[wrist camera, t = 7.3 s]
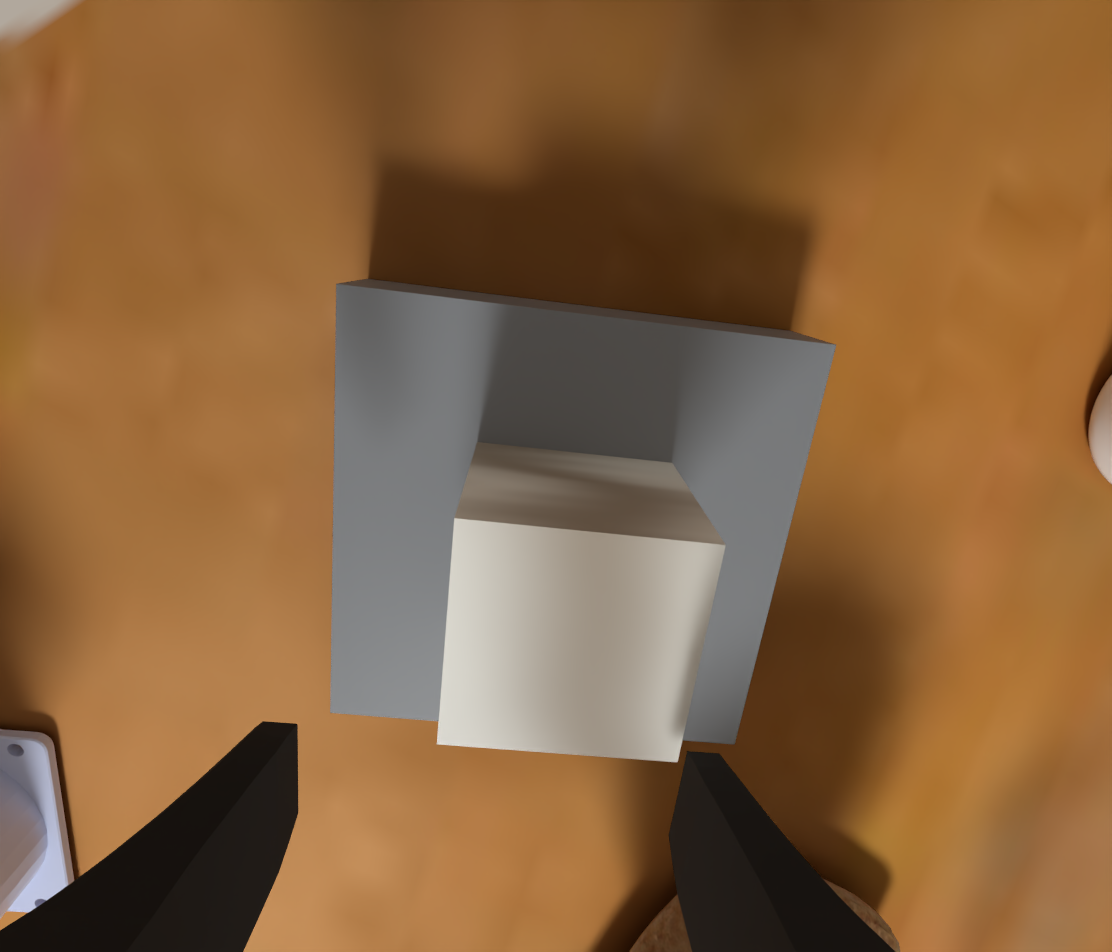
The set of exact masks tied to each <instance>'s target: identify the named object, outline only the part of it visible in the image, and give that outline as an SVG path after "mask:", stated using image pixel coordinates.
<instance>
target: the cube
mask: <svg viewBox="0 0 1112 952" xmlns="http://www.w3.org/2000/svg"><path fill="white" fill-rule="evenodd" d="M725 546H726V545H725V543H724V542H723V540H722V538H721V537H720V535H719V534H718V532H717V531H716V529H715V528H714V526H713V525H712V523H711V522H710V520H709V519H708V517H707V516H706V514H705V512H704V511H703V509H702V508H701V506H700V505H699V503H698V502H697V500H696V499H695V497H694V496H693V494H692V493H691V491H690V489H689V488H688V486H687V485H686V483H685V482H684V480H683V479H682V477H681V476H680V474H679V473H678V471H677V470H676V468H675V466H674V465H673V463H669V462H660V461H650V460H641V459H632V458H622V457H613V456H603V455H594V454H585V453H575V452H566V451H557V450H547V449H538V448H529V447H519V446H510V445H501V444H491V443H482V442H477V444H476V448H475V451H474V454H473V458H472V461H471V464H470V468H469V471H468V474H467V478H466V481H465V484H464V488H463V491H462V494H461V498H460V501H459V504H458V508H457V511H456V514H455V518H454V529H453V542H452V555H451V568H450V581H449V594H448V607H447V620H446V633H445V646H444V659H443V672H442V685H441V698H440V711H439V724H438V737H437V744H440V745H454V746H467V747H480V748H493V749H507V750H520V751H533V752H546V753H560V754H573V755H586V756H599V757H613V758H626V759H639V760H652V761H666V762H678V758H679V753H680V749H681V744H682V740H683V735H684V731H685V726H686V722H687V717H688V713H689V708H690V704H691V699H692V695H693V690H694V686H695V681H696V677H697V672H698V668H699V663H700V659H701V654H702V650H703V645H704V641H705V636H706V632H707V627H708V623H709V618H710V614H711V609H712V605H713V600H714V596H715V591H716V587H717V582H718V578H719V573H720V569H721V564H722V560H723V555H724V551H725Z"/></svg>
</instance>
